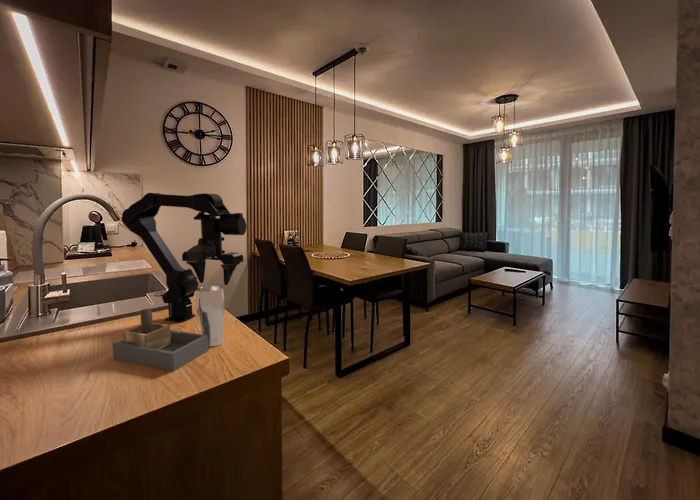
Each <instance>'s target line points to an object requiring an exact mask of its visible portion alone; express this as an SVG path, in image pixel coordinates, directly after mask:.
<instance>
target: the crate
mask: <svg viewBox="0 0 700 500" xmlns="http://www.w3.org/2000/svg"><path fill="white" fill-rule="evenodd" d="M152 311H153V310H152V308H144V309H141V310H140V311H139V312H140V323H141V325H137V326H135V327H133V328H131V329H127V330H124V331H123V339H124V343H126V344H132V345H138V346H144V347H149V348H155V349H162V348H164V347H166V346H168V345H170V344H171V333H170V330H171V324H164V323H156V322H153V312H152Z"/></svg>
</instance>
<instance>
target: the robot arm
mask: <svg viewBox="0 0 700 500" xmlns="http://www.w3.org/2000/svg"><path fill="white" fill-rule="evenodd" d="M161 207H173V208H174V207H175V208H188V209H191V210H193V211H195V212H196V211H197V212H198V213H197V214H196V215H195V216H193V220H196V221H200V231H201V233H200V234H201V237H200V238H198V240H197V244H196V245H194V246H192V247H190V248H189V249H188V250H187V251H186V250H185V251H183V253H182V254H181V260H182V262H185V264H187V265H189V266H190V267H192V268H188V269H184V268H183V267H182V266H181V265H180V264H179V262H178V260H177V259H176V258H175V256H174V255H173V253H172V251H171V250H170V248H169V247H168V246H167V244H166V242H165V241H164V239H163V238H162V237H161V235H160V234H159V232H158V230H157V222H156V221H157V220H156V219H155V217H156V216H157V215H158V213H159V212H160V209H161ZM120 219H121V221H122V223H123V225H124V226H125V227H126V228H127V229H128V230H129V231H130V232H131V233H133V234H135V235H136V236H137V237H139V238H140V239H141V241H142V242H143V243H144V245H145V246H146V248H147V249H148V250H149V252H150V253H151V255H152V256H153V258H154V260H155V261H156V263H157V264H158V265H159V267H160V269H161V270H162V271H163V273H164V274H165V279H166V281H165V282H166V283H165V285H166V286H167V289H168V290H167V291H166V292H165V293H164V294H163V295H162V296H161V299H162V301H163V303H164V304H167V307H168V317H165V318H164V321H168V322H169V321H170V322H176V323H177V322H178V323H182V322H184V321H187V320H190V319H192V318H194V317H196V314H195V313H194V314H193V304H192V299H191V298H192V297H194V296H195V293H196V289H197V288H199V284H200V283H201V284H203V283H204V281H205V273H206V272H205V271H206V261H207V260H211V261H220V262H221V264H220V267H221V268H222V270H223V282H224V283H223V284H224V286H228V285H229V283H230V281H231V278H232V276H233V273H234V271H235V270H236V268H237V266H238V265H241V263H243V262H244V256H243V254H242V252H233V251H232V252H227V253H226V251H225V250H224V249H223V245H222V243H223V242H224V241H225V237H223V235H225V236H244V235H245V234H246V231H247V223H246V220H245V218H244V214H243V212H235V213H231V212H230V210H229V209H228V207H227V206H226V205H225V204H224V200H223V198H222V197H221V195H219V194H217V193H206V192H205V193H195V194H192V195H184V194H183V195H181V194H165V193H160V192H147V193H146V194H144V195H143V196H142V197H141V199H138V200H137V201H136V202H134V203H133V204H131V205H130V206H129V207H127V208H125V209H124V210H123V211H122V213H121V218H120ZM222 241H223V242H222ZM192 269H193V270H192ZM193 271H194V272H195V274H194V272H193Z"/></svg>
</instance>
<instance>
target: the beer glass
mask: <svg viewBox="0 0 700 500" xmlns="http://www.w3.org/2000/svg"><path fill="white" fill-rule="evenodd" d="M224 292H225V291H224V287H223V286H222V285H217V284H216V285H215V284H213V285H212V284H211V285H204V286H198V288H197V289H196V291H195V293H196V295H195V296H196V297H195V302H196V303H195V306H196V307H195V308H196V313H197V318H198V321H199V327H200V331H201V332H200V335H207V336H208V348H212V347H217V346H220V345H222V344H223V343H224V342H225V336H224V332H223V331H224V330H223V324H224V323H223V322H224V316H225V307H226V306H225V302H226V301H225V294H224Z"/></svg>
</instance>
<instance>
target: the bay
mask: <svg viewBox="0 0 700 500" xmlns="http://www.w3.org/2000/svg"><path fill="white" fill-rule="evenodd" d="M170 333H171V344H170V345H168V346H166V347H164V348H162V349H155V348H149V347H144V346H138V345H132V344H126V343H124V338H122V339H120V340H117V341H115V342H113V343H112V354H113V355H112V356H113V360H114V361H115V360H116V361H120V362H125V363H131V364H135V365H142V366H146V367H151V368H157V369H163V370H167V371H173V372H175V371H177V370H178V369H180V368H182V367H184V366H185V365H187V364H188V363H191V362H192V361H194V360H195V359H196V358H198V357H200V356H201V355H203V354H205V353H207V352H208V351H209V347H208V336H207V335H201V333H200V334H198V333H192V332H186V331H178V330H172V329H170Z"/></svg>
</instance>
